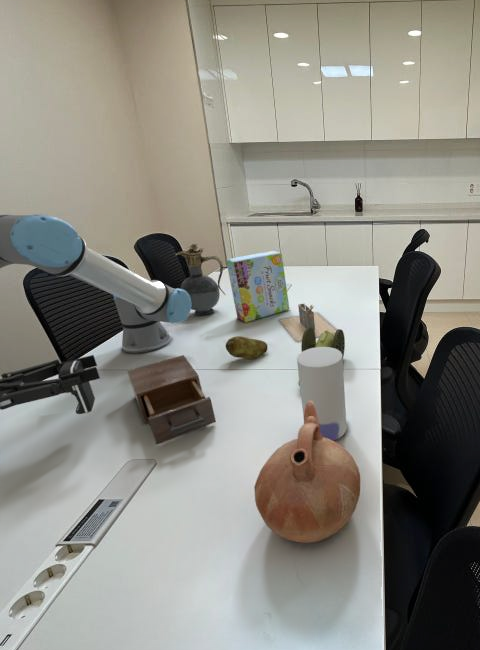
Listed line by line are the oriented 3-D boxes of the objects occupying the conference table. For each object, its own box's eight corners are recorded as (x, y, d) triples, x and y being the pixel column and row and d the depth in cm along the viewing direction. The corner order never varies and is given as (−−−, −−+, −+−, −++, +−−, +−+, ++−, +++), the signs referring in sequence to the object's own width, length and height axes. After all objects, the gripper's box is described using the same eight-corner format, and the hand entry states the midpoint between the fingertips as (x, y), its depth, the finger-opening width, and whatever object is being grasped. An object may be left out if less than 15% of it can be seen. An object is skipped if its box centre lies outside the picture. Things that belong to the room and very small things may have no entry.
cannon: (325, 393, 109) (322, 357, 104) (285, 389, 111) (280, 354, 106) (347, 353, 131) (346, 322, 126) (314, 351, 133) (311, 320, 129)
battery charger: (77, 402, 94) (61, 361, 89) (96, 398, 95) (80, 357, 91) (71, 418, 88) (54, 374, 83) (91, 413, 90) (75, 369, 85)
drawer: (222, 431, 92) (216, 407, 90) (160, 455, 85) (153, 430, 82) (199, 397, 107) (194, 375, 104) (145, 415, 99) (138, 392, 96)
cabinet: (204, 402, 106) (198, 375, 102) (145, 423, 98) (136, 394, 94) (189, 380, 117) (183, 355, 114) (135, 397, 109) (127, 370, 106)
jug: (276, 477, 79) (263, 394, 71) (364, 477, 79) (360, 394, 71) (247, 561, 63) (225, 465, 55) (358, 562, 62) (353, 465, 54)
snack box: (280, 305, 178) (273, 249, 168) (290, 310, 173) (283, 252, 162) (235, 318, 165) (224, 258, 155) (244, 323, 159) (234, 261, 149)
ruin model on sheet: (338, 332, 148) (336, 308, 144) (296, 341, 141) (294, 316, 137) (316, 313, 168) (314, 291, 165) (279, 319, 162) (276, 297, 158)
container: (352, 421, 96) (349, 349, 88) (336, 446, 88) (330, 369, 80) (316, 414, 99) (309, 343, 91) (297, 438, 91) (288, 362, 83)
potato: (268, 360, 128) (264, 338, 124) (227, 365, 125) (222, 343, 122) (268, 350, 135) (265, 329, 132) (230, 354, 133) (226, 333, 130)
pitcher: (184, 312, 173) (168, 244, 161) (228, 304, 181) (216, 240, 169) (186, 319, 164) (169, 249, 152) (232, 311, 172) (220, 243, 160)
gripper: (-23, 396, 87) (97, 364, 99) (-38, 441, 72) (105, 398, 85) (-38, 366, 84) (88, 338, 96) (-57, 407, 69) (95, 368, 82)
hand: (96, 366), depth 91 cm, fingers closed on battery charger, 7 cm apart
